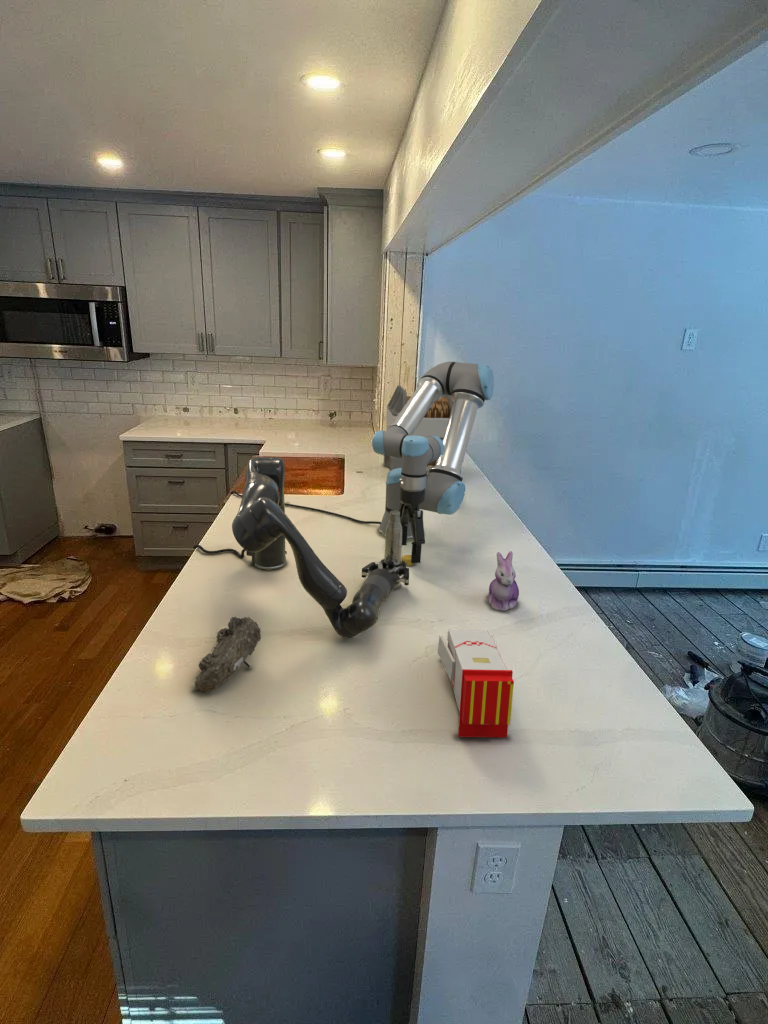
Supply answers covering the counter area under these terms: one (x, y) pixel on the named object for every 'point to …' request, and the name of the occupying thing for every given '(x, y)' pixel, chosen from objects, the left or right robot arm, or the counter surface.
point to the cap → (407, 560)
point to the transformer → (429, 425)
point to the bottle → (393, 542)
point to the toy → (478, 682)
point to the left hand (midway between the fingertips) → (394, 562)
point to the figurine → (503, 584)
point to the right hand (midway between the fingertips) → (408, 553)
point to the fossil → (228, 653)
